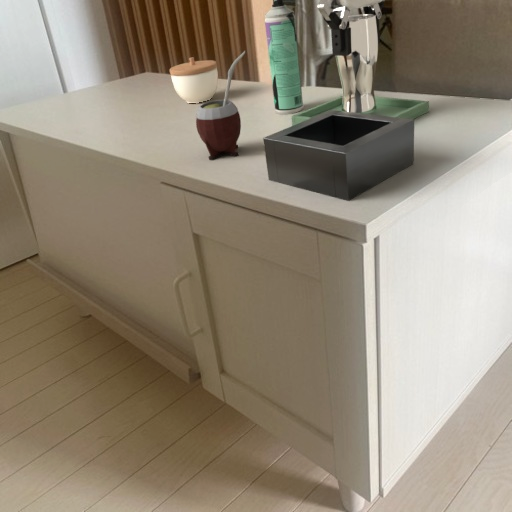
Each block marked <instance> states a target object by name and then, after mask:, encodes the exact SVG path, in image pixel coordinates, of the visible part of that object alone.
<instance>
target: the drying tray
mask: <svg viewBox="0 0 512 512" xmlns="http://www.w3.org/2000/svg"><path fill="white" fill-rule="evenodd" d="M374 96H375V101H376V105H377V110H376V111H375V112H373V113H370V114H372V115H380V116H389V117H397V118H405V119H414V120H415V119H416V118H418V117H422V115H424V114H427V113H429V111H430V110H429V109H430V101H428V100H420V99H409V98H400V97H399V98H398V97H385V96H376V95H374ZM342 100H343V95H341V96H339V97H336V98H334V99H330V100H329V101H326V102H323V103H321V104H319V105H316V106H314V107H311V108H309V109H306V110H304V111H303V110H302V111H300V112H297V113H296V114H293V115H291V116H290V118H291V126H293V125H296V124H298V123H301V122H303V121H305V120H308V119H310V118H313V117H315V116H318V115H320V114H322V113H325V112H327V111H330V110H337V111H341V108H342Z"/></svg>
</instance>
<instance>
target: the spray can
mask: <svg viewBox="0 0 512 512" xmlns="http://www.w3.org/2000/svg"><path fill="white" fill-rule="evenodd" d="M264 18H265V19H264V27H265V35H266V36H265V37H266V43H267V52H268V53H267V54H268V60H269V68H270V69H269V70H270V76H271V86H272V95H273V103H274V110H275V113H276V114H279V115H291V114H295V113H296V114H297V113H300V112H302V111H303V110H304V101H303V90H302V80H301V79H302V78H301V69H300V58H299V47H298V38H297V37H298V36H297V25H296V16H295V11H294V10H292V9H290V8H289V7H287V4H285V3H284V0H272V5H271V7H270V10H268V11H267V13H266V14H264Z"/></svg>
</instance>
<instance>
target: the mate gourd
mask: <svg viewBox="0 0 512 512" xmlns="http://www.w3.org/2000/svg"><path fill="white" fill-rule="evenodd" d="M245 54H246V50H244V51H243V52H242V53H241V54H240V55H239V56H238V57H237V58H236V59H235V60H234V61H233V63H232V64H231V65H230V68H228V71H227V80H226V86H225V92H224V99H217V100H210V101H206V102H203V103H201V104H200V105H199V106H198V109H197V111H196V115H195V126H196V130H197V133H198V135H199V138H200V139H201V141H202V142H203V143H204V144H205V146H206V147H205V148H206V149H207V151H208V153H209V156H208V160H209V161H214V160H215V159H217V158H221V157H222V156H230V157H238V156H239V153H240V152H238V151H237V149H239V145H238V140H239V139H240V135H241V129H242V122H241V115H240V112H239V109H238V107H237V106H236V104H235V103H234V102H233V101H232V100H229V95H230V90H231V83H232V77H233V76H234V73H235V68H236V67H237V64H238V63H239V62H240V60H241V59H242V58H243V57H244V55H245Z"/></svg>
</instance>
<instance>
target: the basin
mask: <svg viewBox="0 0 512 512" xmlns="http://www.w3.org/2000/svg"><path fill="white" fill-rule="evenodd" d="M262 139H263V146H264V147H263V148H264V155H265V164H266V171H267V178H268V181H272V182H276V183H279V184H283V185H287V186H290V187H295V188H299V189H303V190H305V191H309V192H314V193H318V194H320V195H321V194H322V195H325V196H329V197H333V198H336V199H341V200H344V201H347V202H349V201H350V200H352V199H354V198H356V197H357V196H360V195H361V194H363V193H364V192H366V191H368V190H370V189H372V188H374V187H375V186H377V185H379V184H380V183H382V182H383V181H386V180H388V179H389V178H391V177H392V176H394V175H396V174H398V173H400V172H402V171H403V170H405V169H406V168H408V167H410V166H412V165H413V164H415V119H405V118H397V117H389V116H380V115H372V114H363V113H355V112H346V111H337V110H330V111H327V112H325V113H322V114H320V115H318V116H315V117H313V118H310V119H308V120H305V121H303V122H301V123H298V124H296V125H293V126H292V125H291V126H289V127H287V128H283V129H282V130H279V131H277V132H274V133H272V134H269V135H267V136H265V137H263V138H262Z"/></svg>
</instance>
